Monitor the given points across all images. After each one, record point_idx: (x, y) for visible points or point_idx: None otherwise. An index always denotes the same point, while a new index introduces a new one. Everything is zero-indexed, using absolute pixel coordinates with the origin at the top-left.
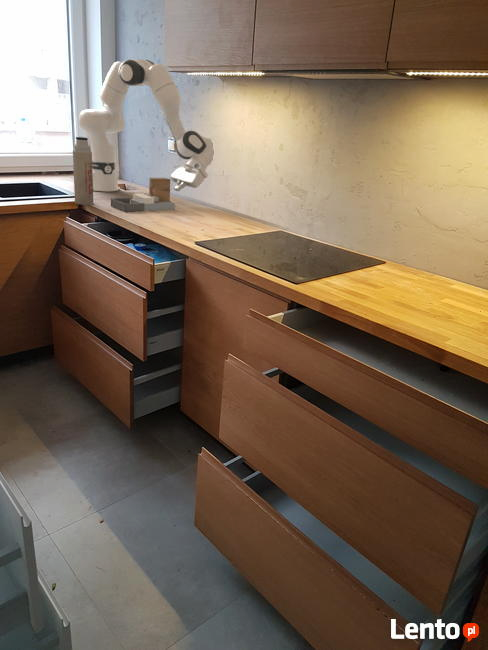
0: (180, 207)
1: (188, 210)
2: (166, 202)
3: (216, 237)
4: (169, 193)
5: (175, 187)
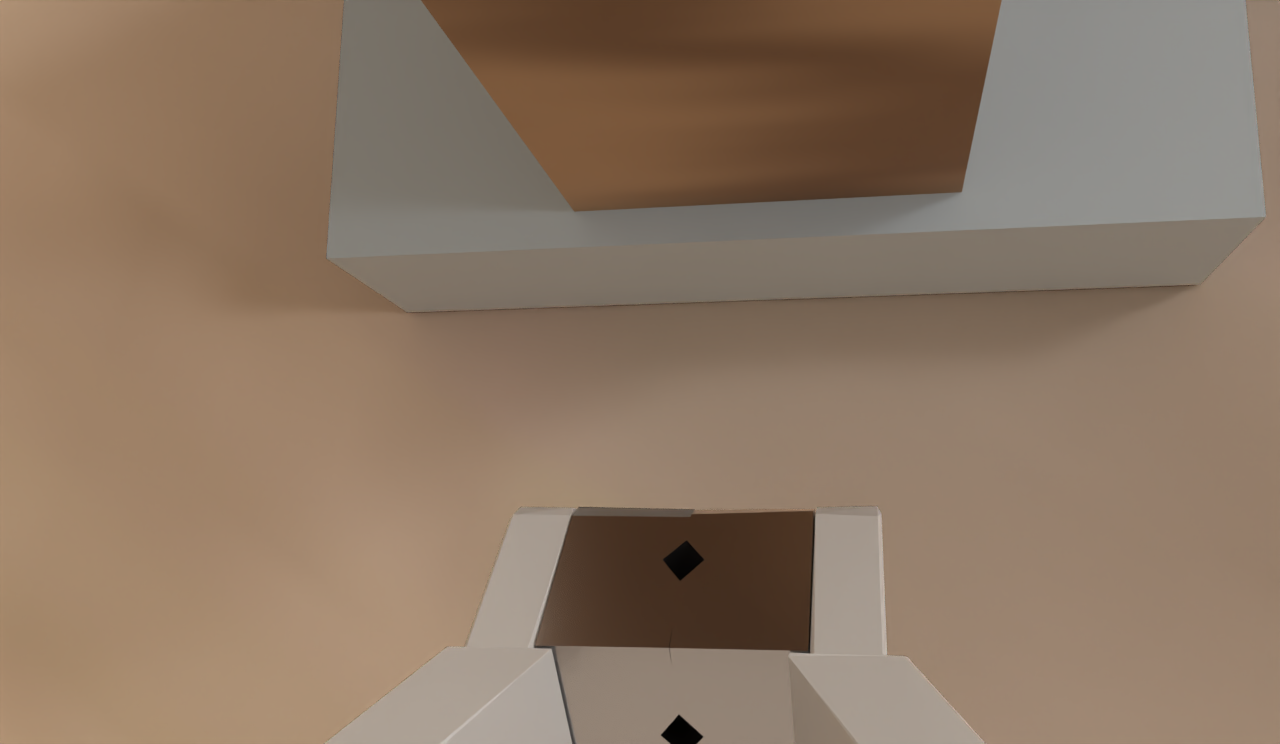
0: None
1: (173, 647)
2: None
3: None
4: (495, 73)
5: (739, 538)
